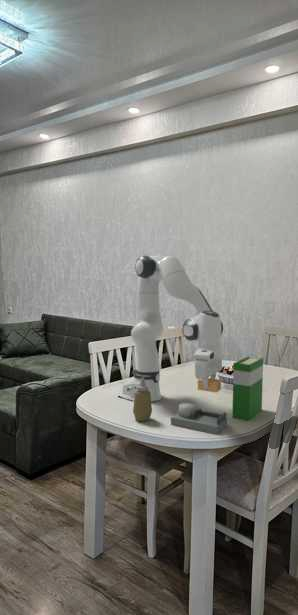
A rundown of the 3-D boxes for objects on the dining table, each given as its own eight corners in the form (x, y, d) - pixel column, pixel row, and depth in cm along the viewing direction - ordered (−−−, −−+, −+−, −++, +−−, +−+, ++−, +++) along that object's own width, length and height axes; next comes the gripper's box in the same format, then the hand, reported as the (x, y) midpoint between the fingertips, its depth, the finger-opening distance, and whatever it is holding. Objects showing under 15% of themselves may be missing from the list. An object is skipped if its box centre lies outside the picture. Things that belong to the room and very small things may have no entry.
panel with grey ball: (170, 424, 166) (171, 407, 165) (183, 416, 176) (183, 400, 175) (216, 434, 155) (217, 416, 155) (227, 424, 166) (227, 408, 165)
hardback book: (246, 407, 189) (247, 356, 187) (261, 409, 185) (263, 358, 183) (232, 417, 174) (233, 363, 173) (249, 421, 170) (250, 365, 169)
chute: (197, 389, 162) (197, 379, 162) (202, 386, 167) (202, 377, 166) (216, 392, 158) (216, 382, 158) (220, 389, 163) (221, 379, 162)
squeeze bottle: (151, 416, 175) (151, 375, 174) (152, 422, 167) (152, 380, 166) (133, 416, 175) (133, 375, 174) (132, 423, 167) (133, 380, 166)
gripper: (211, 347, 172) (211, 379, 173) (192, 355, 154) (191, 390, 155) (226, 348, 169) (225, 381, 170) (207, 356, 151) (207, 392, 152)
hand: (209, 385), depth 162 cm, fingers closed on chute, 5 cm apart
